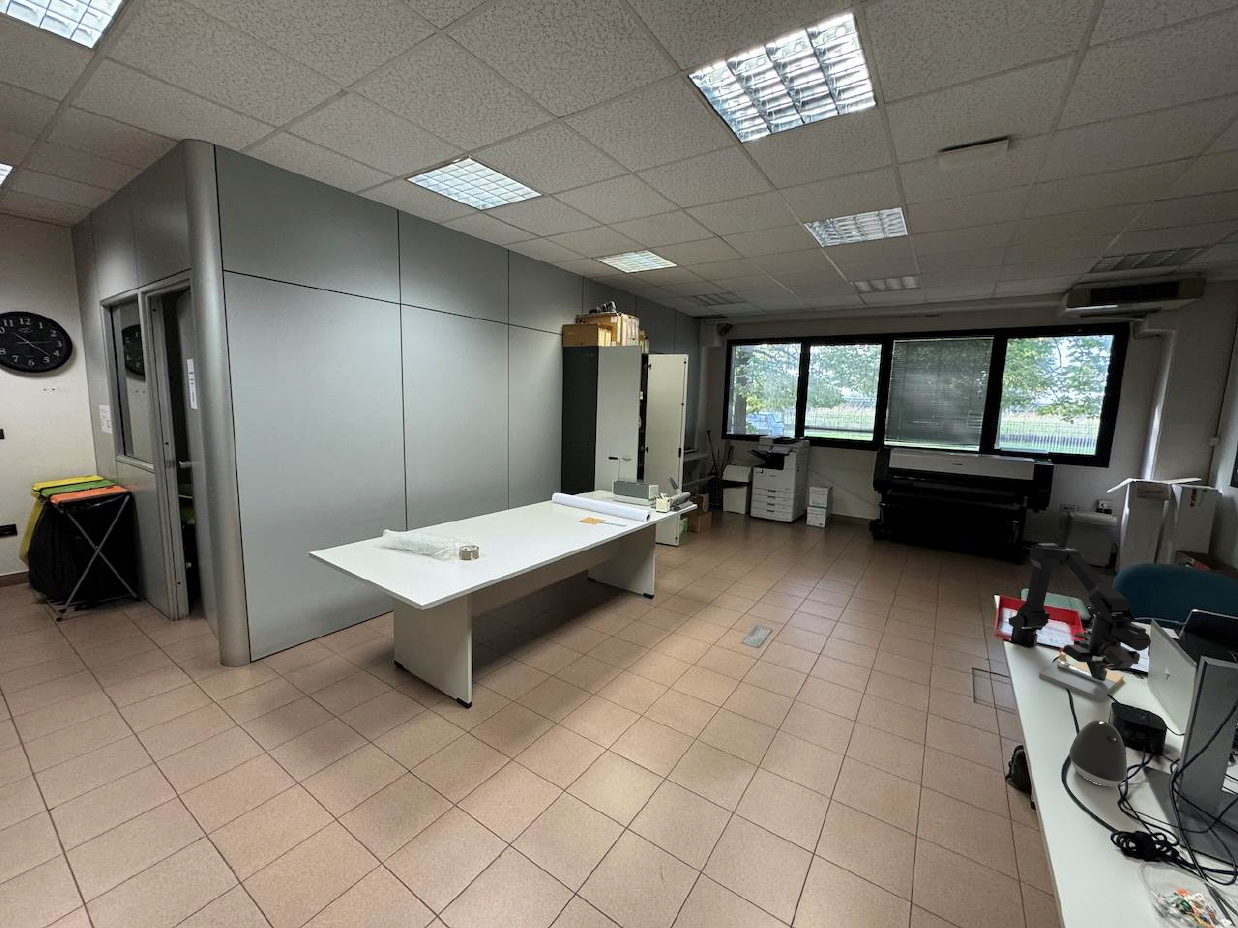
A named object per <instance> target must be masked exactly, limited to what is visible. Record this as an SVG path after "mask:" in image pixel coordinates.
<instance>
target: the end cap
mask: <svg viewBox="0 0 1238 928" xmlns="http://www.w3.org/2000/svg"><path fill="white" fill-rule="evenodd" d="M1074 637H1075V638H1078V639H1074V640H1073V645H1078V646H1080V647H1082V648H1083V649H1088V647H1086V646H1084V645H1085V643H1089V640H1090V635H1088V634H1087V633H1086V634H1085V633H1082V632H1081V633H1080V632H1075V635H1074Z"/></svg>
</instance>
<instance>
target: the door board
mask: <svg viewBox="0 0 1238 928" xmlns="http://www.w3.org/2000/svg"><path fill="white" fill-rule="evenodd" d="M1057 661H1064V662H1067V663H1069V664H1070V665H1071V666H1073V667H1076V668H1078V669H1081V670H1083V671H1086V672H1088V673H1090V670H1089V668H1088V665H1087V663H1086V662H1079V661H1077V660H1075V659H1073V658H1072V657H1070V656H1068V655H1067V654H1065V653H1064V652H1063V651H1061V652H1060V653H1059V657H1058V658H1056V659H1055V660H1054V661H1053V662H1051V663H1050V664H1049V665H1048V666H1045V668H1044V669H1042V670H1041V671H1039V674H1038V678H1041V679H1043V680H1045V681H1047V682H1050V683H1053V684H1055V685H1057V686H1060V687H1062V688H1064V689H1066V690H1069V691H1071V692H1074V693H1077V694H1079V695H1080V696H1081V695H1082V696H1084V697H1086V698H1088V699H1091V700H1093V701H1095V702H1098V703H1101V702H1102V701H1103V700H1104V699H1105V698H1106V697H1107V695H1109V694H1110V693H1111V692H1112V691H1113V690H1114V689H1115V688H1116V687H1117V686H1118V685H1119V684H1120V683H1121V682H1122V681H1123V680H1124V677H1125V676H1124V674H1122V673H1119V672H1116V671H1113V670H1111V669H1108V668H1107V667H1106V668H1105V670H1107V675H1106V680H1105V681H1104V682H1103V683H1099V682H1097V681H1094V680H1091V679H1089V678H1086V677H1084V676H1081V675H1079V674H1076V673H1074V672H1071V671H1069V670H1064V669H1061V668H1059V667H1057Z"/></svg>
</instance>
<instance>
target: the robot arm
mask: <svg viewBox="0 0 1238 928" xmlns="http://www.w3.org/2000/svg"><path fill="white" fill-rule="evenodd" d="M1029 559H1030V561H1031V563H1032V565H1033V568H1032V571H1031V577H1030V582H1029V584H1028V585H1029V587H1028V590H1027V595H1026V598H1025V599H1026V600H1025V602H1024V603H1023V604H1022V605H1020V606H1019V608H1018V609H1017V613H1016V615H1014V616H1010V617H1009V618H1008V624H1009V626H1011V627H1012V628H1011V635H1010V636H1011V637H1010V638H1009V639H1008V642H1011V643H1014V644H1016V645H1017V646H1018V645H1019V646H1021V647H1023V648H1026V649H1031V648H1033V647H1034V646H1036V645H1037V643H1038V636H1039V635H1038V633H1037V632H1038V631H1041V630H1043V628H1044V627H1046V626H1047V625H1048V624H1049V619H1050V615H1051V614H1050V612H1048V611H1047V610H1046V609H1045V607H1044V606H1045V603H1046V596H1047V592H1048V588H1049V584H1050V579H1051V576H1052V572H1053V569H1055V568H1056V567H1057V566H1058V565H1059V564H1060V562H1061V561H1062V562H1063V564H1064V565H1065V566H1066V567H1067V568H1068V569H1069V570H1070V572H1071V573H1072V574H1073V575H1074V576H1075V578H1077V580H1078V581H1079V582H1080V584H1082V586H1083V587H1084V588H1085V590H1086V592H1088V600H1089V601H1090V603H1091V605H1092V607H1093V608H1092V609H1088V613H1090V614H1091V615H1094V619H1093V623H1092V629H1091V630H1087V633H1086V635H1090V640H1089V643H1085V645H1084V646H1086V647H1088V649H1083V648H1082V647H1080V646H1078V645H1074V644H1066V645H1064V646H1063V650H1062V652H1064V653H1065V654H1067V655H1068V656H1070V657H1072V658H1073V659H1075V660H1077V661H1079V662H1086V663H1087V665H1088V668H1089V670H1090V673H1091V675H1092V677H1093V678H1095V679H1096V678H1097V677H1098V676H1099V675H1100V674H1101V673H1102V671H1103V670H1104V669H1105V668H1106V669H1107V667H1109V666H1114V667H1115V668H1117V669H1124V668H1125V669H1126V668H1127V669H1130V668H1131V667H1132V666H1133V665H1138V664H1139V661H1140V657H1141V656H1140V655H1141V654H1140V653H1139V652H1141V651H1144V650H1147V648H1149V647H1150V645H1151V643H1152V639H1151V636H1150V635H1149V633H1146V632H1147V629H1146V628H1145V627H1142V626H1139V625H1136V624H1134V623H1137V620H1136V618H1135V614H1134V613H1133V611H1132V609H1131V607H1130V602H1129V601H1128V599H1127V597H1125V596H1124V595H1123V594H1122V593H1121V592H1119V591H1118V590H1117V589H1115V588H1113V587H1111V586H1109V585H1107V584H1106V583H1105V582H1104V581H1103V579H1102V578H1101V577H1100V576H1099V575H1098V574H1097V573H1096V571H1095V570H1094V569H1093V568H1092V567H1091V566H1090V565H1089V564H1088V562H1087V561H1086V560H1085V559H1084V558H1083V557H1082V554H1081V552H1080V551H1079V550H1077V549H1074V548H1072V549H1071V548H1067V547H1060V546H1059V545H1058V544H1056V543H1034V544H1033V545H1031V546H1030V553H1029ZM1113 614H1115V615H1113ZM1116 614H1118V615H1116ZM1121 614H1122V615H1121ZM1122 644H1123V645H1125V646H1126V647H1128V648H1126V647H1125V646H1122ZM1129 648H1131V649H1133V650H1130V649H1129Z"/></svg>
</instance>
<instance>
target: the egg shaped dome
mask: <svg viewBox="0 0 1238 928" xmlns="http://www.w3.org/2000/svg"><path fill="white" fill-rule="evenodd" d="M1069 758H1070V761H1071V765H1072V767H1073V768H1074V770H1075V772H1076V773H1078V774H1079V775H1080V776H1081V775H1082V776H1083V777H1085V778H1086V779H1088V780H1091V781H1092V782H1095V783H1097V784H1101V785H1105V786H1113V787H1116V786H1119V785H1120V784H1121V783H1122V782H1123V781H1124V780H1126V778H1127V776H1128V759H1127V758H1128V757H1127V753H1126V749H1125V744H1124V741H1123V739H1122V736H1121V734H1120V732H1119V731H1118V729H1117V728H1116V727H1115V726H1114V725H1112V724H1111V723H1109V722H1107V721H1105V720H1092V721H1090V722H1088V723H1087V724H1086V725H1084V726H1083V727H1082V728H1081V730H1079V732H1078V733H1077V735H1076V736H1075V737H1074V740H1073V741H1072V744H1071V746H1070V748H1069ZM1082 776H1081V777H1082ZM1085 778H1084V779H1085ZM1086 779H1085V780H1086ZM1088 780H1087V781H1088ZM1092 782H1091V783H1092ZM1097 784H1096V785H1097Z"/></svg>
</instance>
